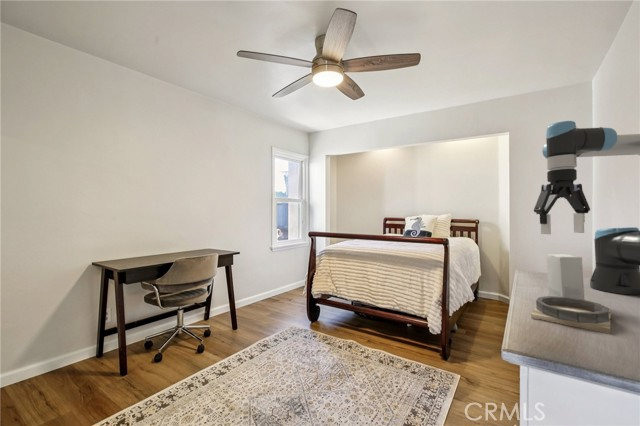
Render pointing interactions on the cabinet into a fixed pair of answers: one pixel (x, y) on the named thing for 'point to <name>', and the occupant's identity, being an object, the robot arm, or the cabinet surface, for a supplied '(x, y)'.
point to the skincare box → (565, 276)
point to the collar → (573, 312)
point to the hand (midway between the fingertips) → (562, 233)
